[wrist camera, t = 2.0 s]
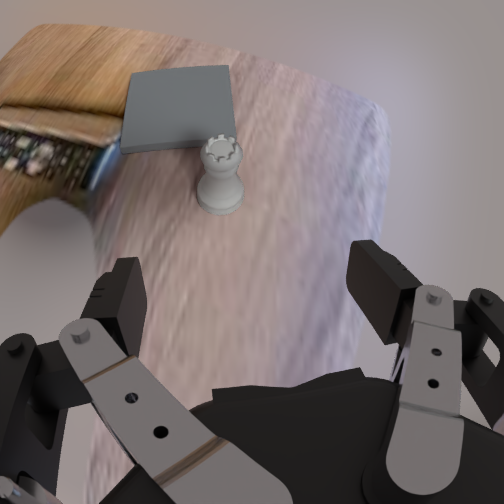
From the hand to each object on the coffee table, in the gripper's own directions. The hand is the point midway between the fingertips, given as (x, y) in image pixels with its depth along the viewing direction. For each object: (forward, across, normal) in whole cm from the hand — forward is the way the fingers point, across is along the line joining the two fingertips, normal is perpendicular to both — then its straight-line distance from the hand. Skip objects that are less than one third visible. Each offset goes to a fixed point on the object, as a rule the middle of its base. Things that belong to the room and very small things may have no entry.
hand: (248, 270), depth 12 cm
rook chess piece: (+20, 0, +3) cm, 20 cm away
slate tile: (+28, +4, -5) cm, 29 cm away
